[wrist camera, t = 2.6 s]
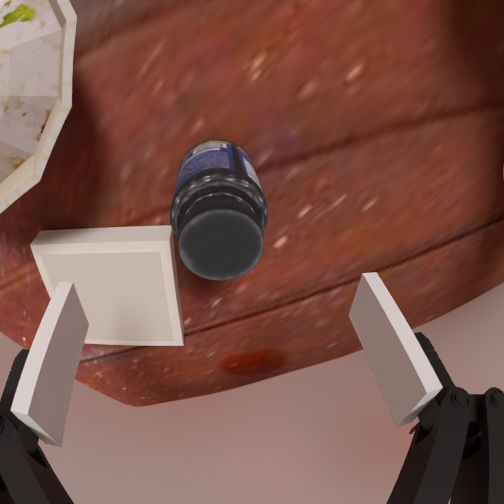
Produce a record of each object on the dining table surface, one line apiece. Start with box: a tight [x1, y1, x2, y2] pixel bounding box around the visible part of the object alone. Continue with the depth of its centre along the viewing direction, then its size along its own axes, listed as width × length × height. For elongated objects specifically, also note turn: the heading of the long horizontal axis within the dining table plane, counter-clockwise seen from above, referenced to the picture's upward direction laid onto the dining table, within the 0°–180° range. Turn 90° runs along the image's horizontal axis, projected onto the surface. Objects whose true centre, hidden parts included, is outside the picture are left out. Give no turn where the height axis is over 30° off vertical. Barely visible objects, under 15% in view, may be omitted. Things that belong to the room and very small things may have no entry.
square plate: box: [30, 225, 184, 346], centre depth 30 cm, size 14×14×3 cm
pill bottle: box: [170, 139, 268, 281], centre depth 21 cm, size 6×6×11 cm
